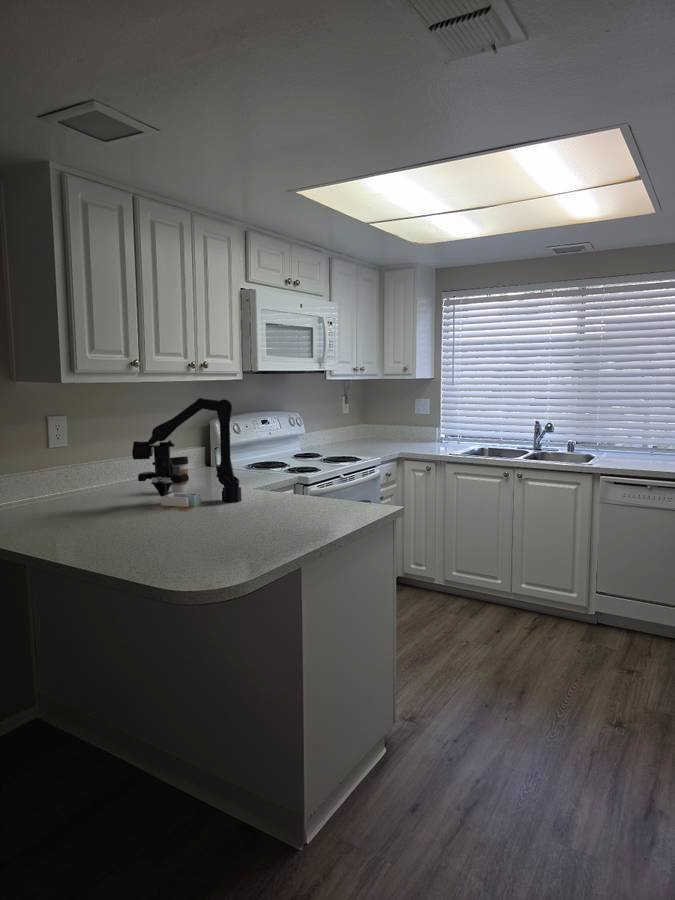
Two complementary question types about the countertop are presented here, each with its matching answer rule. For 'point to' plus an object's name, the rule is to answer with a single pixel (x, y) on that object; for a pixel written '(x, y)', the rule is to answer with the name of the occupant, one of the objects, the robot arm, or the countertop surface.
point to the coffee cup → (182, 463)
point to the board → (172, 507)
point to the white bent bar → (175, 500)
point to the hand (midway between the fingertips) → (164, 499)
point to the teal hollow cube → (193, 499)
